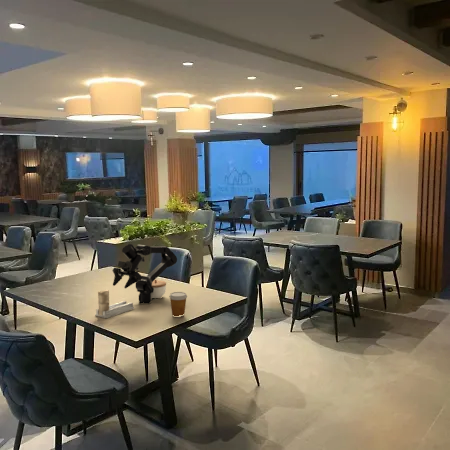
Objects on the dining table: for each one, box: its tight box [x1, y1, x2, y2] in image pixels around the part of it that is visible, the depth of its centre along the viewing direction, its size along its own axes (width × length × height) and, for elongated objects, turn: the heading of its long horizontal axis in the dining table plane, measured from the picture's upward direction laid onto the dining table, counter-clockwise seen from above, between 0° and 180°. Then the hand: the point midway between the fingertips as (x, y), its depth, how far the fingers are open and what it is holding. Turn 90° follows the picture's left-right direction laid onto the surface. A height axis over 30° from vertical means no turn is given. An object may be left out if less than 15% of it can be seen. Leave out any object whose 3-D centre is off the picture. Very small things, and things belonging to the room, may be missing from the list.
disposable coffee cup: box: [168, 291, 188, 316], centre depth 247 cm, size 10×10×12 cm
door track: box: [95, 300, 135, 319], centre depth 253 cm, size 20×8×4 cm, turn 144°
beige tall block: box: [97, 289, 110, 316], centre depth 246 cm, size 5×3×12 cm, turn 144°
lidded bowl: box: [151, 279, 167, 299], centre depth 281 cm, size 13×13×11 cm
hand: (119, 286), depth 254 cm, fingers open, 9 cm apart
